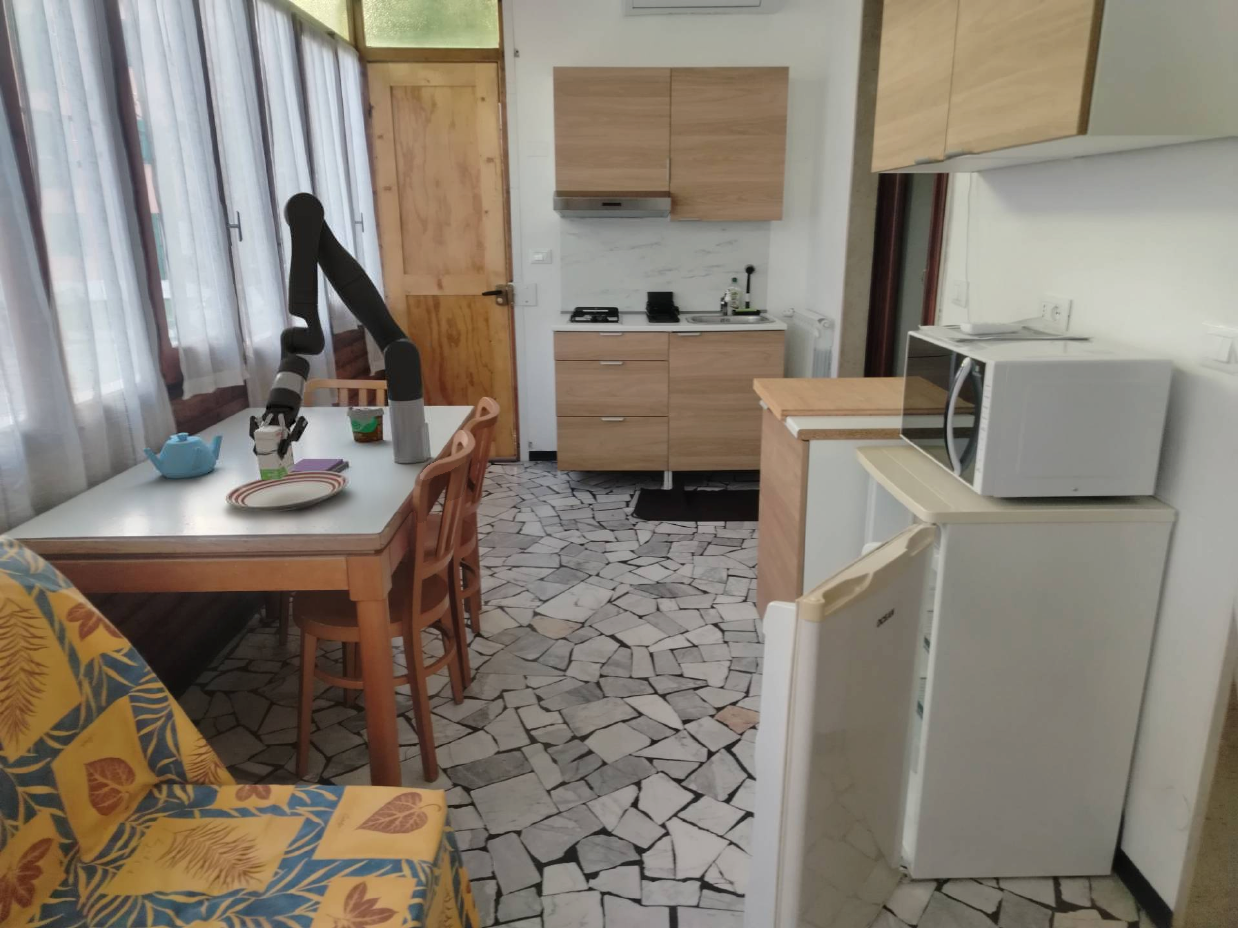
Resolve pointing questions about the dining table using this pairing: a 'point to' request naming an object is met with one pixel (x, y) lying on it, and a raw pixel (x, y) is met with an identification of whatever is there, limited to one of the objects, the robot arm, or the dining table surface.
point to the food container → (366, 424)
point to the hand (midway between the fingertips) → (268, 455)
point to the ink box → (272, 453)
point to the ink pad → (320, 465)
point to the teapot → (186, 456)
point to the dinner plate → (287, 491)
